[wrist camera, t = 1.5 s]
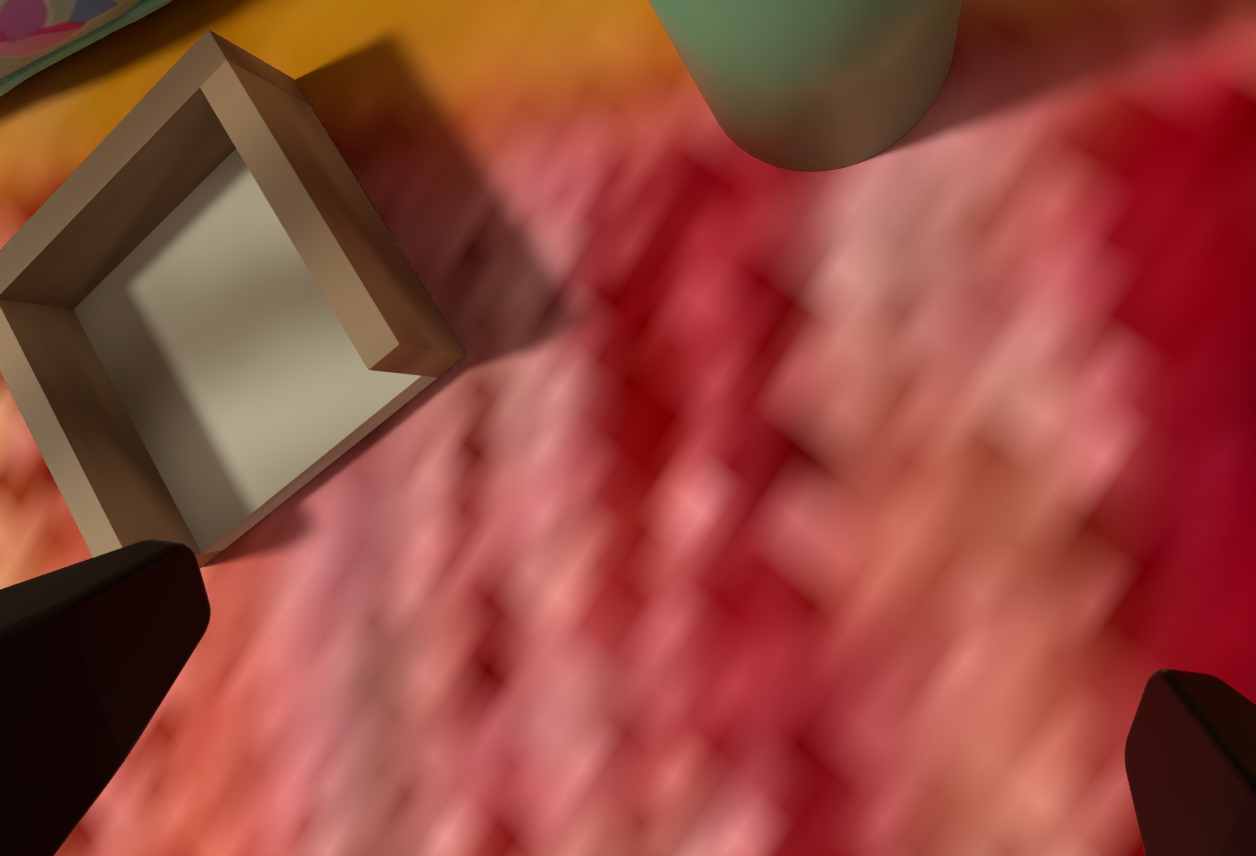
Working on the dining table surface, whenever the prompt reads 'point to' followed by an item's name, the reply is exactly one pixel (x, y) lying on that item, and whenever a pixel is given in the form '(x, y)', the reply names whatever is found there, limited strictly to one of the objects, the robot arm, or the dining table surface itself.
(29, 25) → the lunch box
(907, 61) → the bottle
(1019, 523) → the dining table surface
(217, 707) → the dining table surface
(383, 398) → the rest
